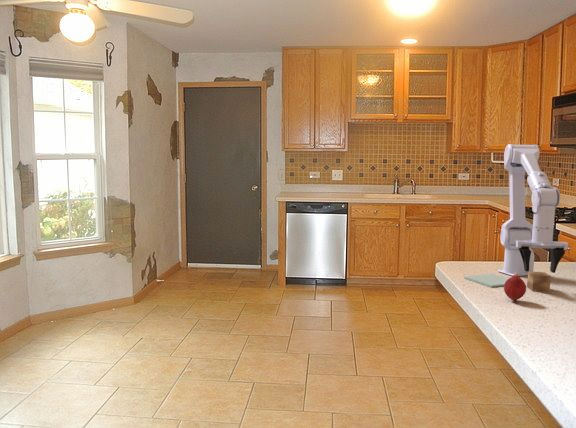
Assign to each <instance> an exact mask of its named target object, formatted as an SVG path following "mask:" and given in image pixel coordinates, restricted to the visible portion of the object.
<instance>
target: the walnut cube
mask: <svg viewBox="0 0 576 428" xmlns="http://www.w3.org/2000/svg"><path fill="white" fill-rule="evenodd" d="M551 279H552V277H551V275H550V274H548V273H547V272H545V271H544V272H543V271H533V272H528V275H527V281H526V282H527V283H526V288H528V289H529V290H530V291H531V292H539V293H540V292H544V293H550V288H551Z"/></svg>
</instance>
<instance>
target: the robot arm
mask: <svg viewBox="0 0 576 428" xmlns="http://www.w3.org/2000/svg"><path fill="white" fill-rule="evenodd" d="M540 155H541V154H540V147H539V146H538V145H537V144H512V143H508V144H507V145H506V146H505V149H504V153H503V165H504V170H506V171H507V172H508V180H509V219H508V220H507V221H505V222H504V223H502V225H501V230H500V234H499V235H500V237H499V238H500V239H499V241H500V244H501V245H502V246H503V248H504V258H503V269H497V272H498V273H503V274H506V275H509V276H511V277H513V275H514V274H515V273H517V274H518V277H523V276H528V272H534V269H535V268H534V267H535V253H534V251H533V249H550V267H549V269H550V273H553V274H555V273H556V271H557V268H558V265H559V263H560V261H561V260H562V259H563V257H564V256H565V254H566V250H568V249H569V242H566V241H553V239H554V227H555V225H554V224H555V214H556V208H557V207H558V206H559V204H560V199H561V196H560V195H561V194H560V191H559V189H558V187H555V186H554V185H552V183H551V182H550V180H549V177H548V175H547V173H546V172H544V171H541V168H540V164H539V158H540ZM525 174H527V175H528V176H527V179H525V178H526V177H525ZM525 180H526V183H528V186H529V189H530V191H531V205H532V206H531V207H532V209H531V210H532V212H533V219H532V223H531V222H530V221H528V220H527V219H526V193H525V192H526V191H525V189H526V187H525Z"/></svg>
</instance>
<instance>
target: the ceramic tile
mask: <svg viewBox="0 0 576 428" xmlns="http://www.w3.org/2000/svg"><path fill="white" fill-rule="evenodd" d="M463 278H464V279H466V280H468V281H471V282H473V283H477V284H479V285H480V284H481V285H483V286H486V287H488V288H500V287H504V284H505V282H506V281H507V280H508V279H509V278H508V277H504V276H502V275H499V274H496V273H486V274H476V275H475V274H474V275H467V276H466V275H465V276H464V277H463Z"/></svg>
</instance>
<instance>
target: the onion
mask: <svg viewBox="0 0 576 428" xmlns="http://www.w3.org/2000/svg"><path fill="white" fill-rule="evenodd" d="M503 291H504V293H505V295H506V297H507V298H509V300H511V301H513V302H516V301H518V300H520V299H521V298H523V296H524V295H525V294H526V293H527V284H526V283H525V281H524V280H523V278H521V277H520V276H518V274H517V273H515V274H514V275H513V276H511V277H509V278H508V280H507V281H506V282H505V284H504V286H503Z"/></svg>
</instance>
